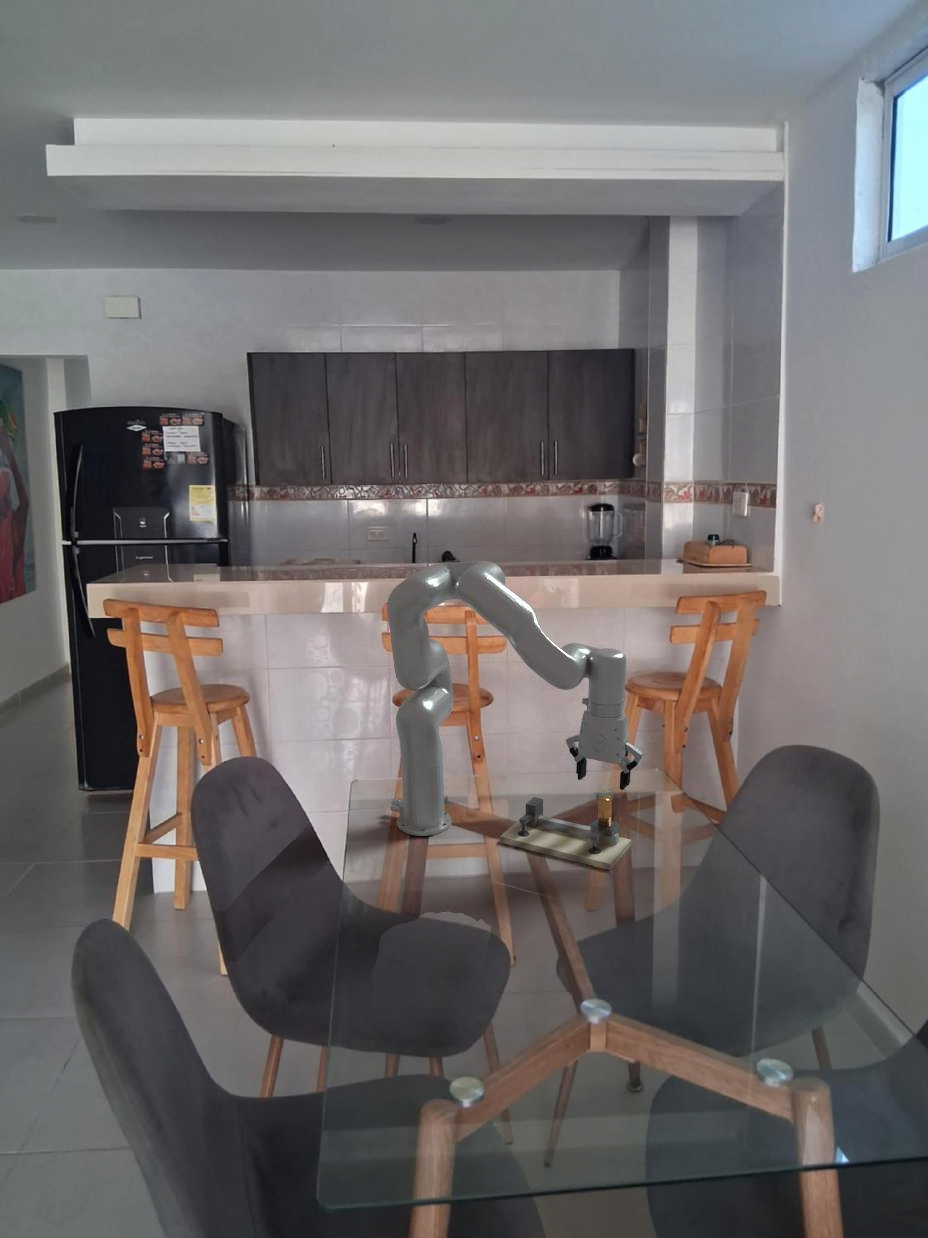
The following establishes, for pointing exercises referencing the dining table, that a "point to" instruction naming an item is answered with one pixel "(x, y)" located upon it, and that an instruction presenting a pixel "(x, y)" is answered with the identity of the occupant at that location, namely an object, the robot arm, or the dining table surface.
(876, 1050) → the dining table surface
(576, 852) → the hole plate
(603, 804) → the brass and grey piece
